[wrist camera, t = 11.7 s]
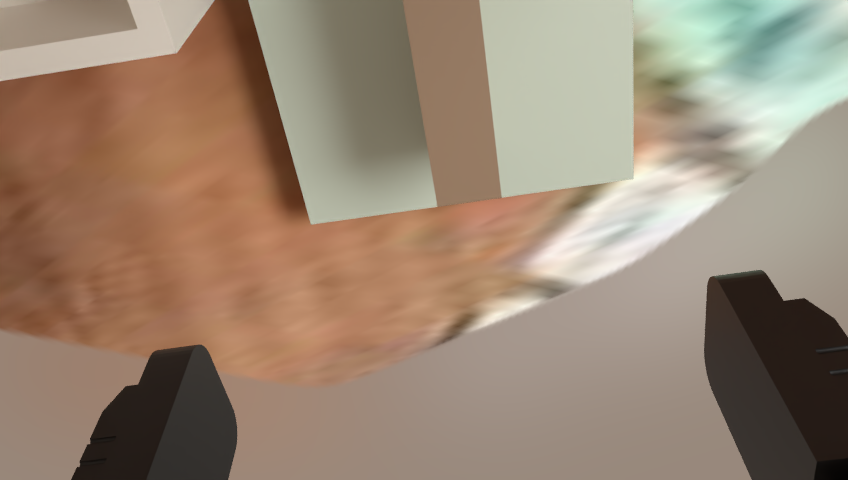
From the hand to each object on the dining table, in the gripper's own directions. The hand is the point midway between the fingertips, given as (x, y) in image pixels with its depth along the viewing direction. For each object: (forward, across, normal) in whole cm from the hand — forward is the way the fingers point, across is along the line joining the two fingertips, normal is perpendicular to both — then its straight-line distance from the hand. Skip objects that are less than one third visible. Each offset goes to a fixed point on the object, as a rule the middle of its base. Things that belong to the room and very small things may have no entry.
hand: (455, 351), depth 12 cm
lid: (+22, 0, +2) cm, 23 cm away
